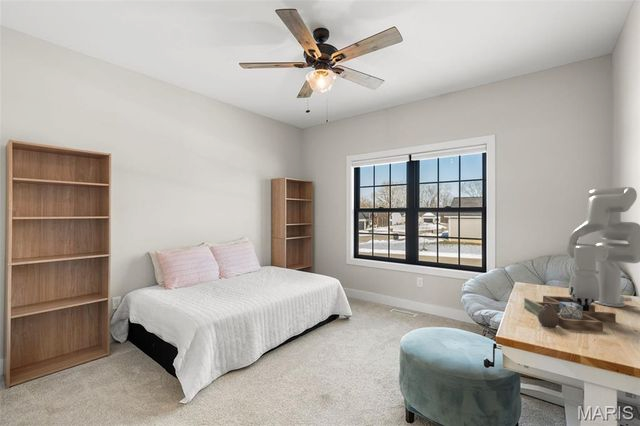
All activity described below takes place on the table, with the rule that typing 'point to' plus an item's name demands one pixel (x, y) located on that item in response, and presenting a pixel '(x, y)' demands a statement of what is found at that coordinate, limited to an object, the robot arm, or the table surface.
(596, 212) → the robot arm
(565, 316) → the game die
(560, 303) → the slate block
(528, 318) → the table surface
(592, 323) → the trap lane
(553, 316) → the vase
